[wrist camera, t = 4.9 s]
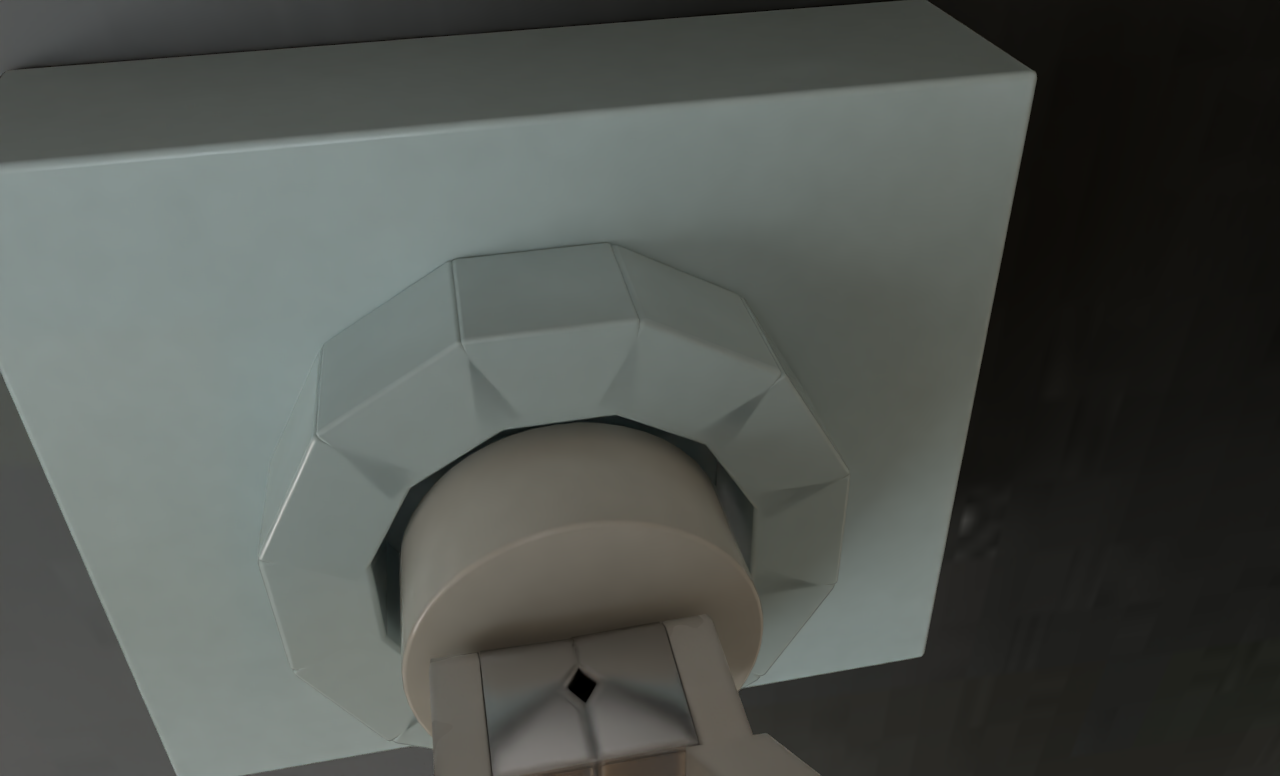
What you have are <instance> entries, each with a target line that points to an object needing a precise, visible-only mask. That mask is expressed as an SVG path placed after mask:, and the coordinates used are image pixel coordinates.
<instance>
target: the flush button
mask: <svg viewBox="0 0 1280 776" xmlns="http://www.w3.org/2000/svg"><path fill="white" fill-rule="evenodd" d="M399 585H400V630H401V673H402V681H403V689H404V692H405V695H406V698H407V701H408V704H409V706H410V708H411V710H412V712H413V713H414V715H415V717H416V719H417V720H418V722H419V723H420V724H421V725H422V727H423V728H424V729H425V730H426V731H427V733H428V734H429V735H430V736H432V721H431V703H430V684H429V667H430V660H431V659H432V658H439V657H446V656H453V655H460V654H466V653H473V652H479V656H480V651H483V650H490V649H498V648H505V647H512V646H519V645H526V644H533V643H541V642H548V641H555V640H562V639H569V638H571V637H573V636H579V635H585V634H590V633H596V632H602V631H607V630H613V629H618V628H624V627H630V626H635V625H641V624H647V623H652V622H658V621H659V622H660V623H662V621H667V620H673V619H679V618H685V617H691V616H697V615H702V614H707V615H708V616H709V617H710V618H711V619H712V620H713V623H714V626H715V629H716V632H717V634H718V637H719V640H720V643H721V646H722V649H723V651H724V654H725V657H726V660H727V663H728V666H729V668H730V671H731V674H732V677H733V680H734V683H735V685H736V688H737V691H738V692H739V690H740V689H741V687H742V686H743V684H744V683H745V681H746V680H747V678H748V676H749V675H750V673H751V671H752V669H753V667H754V665H755V662H756V659H757V656H758V653H759V650H760V647H761V641H762V635H763V610H762V606H761V601H760V597H759V594H758V592H757V589H756V587H755V584H754V582H753V579H752V577H751V574H750V572H749V569H748V567H747V564H746V562H745V559H744V557H743V554H742V551H741V549H740V546H739V544H738V541H737V539H736V536H735V534H734V531H733V529H732V526H731V524H730V521H729V519H728V516H727V514H726V511H725V509H724V506H723V504H722V501H721V499H720V496H719V494H718V492H717V489H716V487H715V485H714V484H713V482H712V481H711V479H710V478H709V476H708V475H707V473H706V472H705V471H704V470H703V469H702V468H701V467H700V465H699V464H698V463H697V462H696V461H695V460H694V459H693V458H691V457H690V456H689V455H687V454H686V453H685V452H684V451H682V450H681V449H680V448H678V447H676V446H675V445H673V444H671V443H669V442H668V441H666V440H664V439H662V438H660V437H657V436H655V435H652V434H650V433H647V432H645V431H642V430H638V429H634V428H630V427H626V426H622V425H615V424H608V423H596V422H574V423H561V424H553V425H548V426H542V427H537V428H532V429H529V430H525V431H522V432H519V433H515V434H512V435H509V436H507V437H504V438H502V439H500V440H497V441H495V442H492V443H490V444H488V445H486V446H484V447H483V448H481V449H479V450H477V451H475V452H474V453H472V454H470V455H468V456H467V457H466V458H464V459H463V460H461V461H460V462H459V463H457V464H456V465H454V466H453V467H452V468H450V469H449V470H448V471H447V472H446V473H445V474H444V475H443V476H442V477H441V478H439V479H438V480H437V481H436V482H435V483H434V485H433V486H432V487H431V488H430V489H429V491H428V492H427V493H426V494H425V495H424V496H423V498H422V499H421V501H420V503H419V504H418V506H417V507H416V509H415V510H414V512H413V514H412V515H411V518H410V520H409V522H408V525H407V527H406V529H405V531H404V535H403V539H402V543H401V547H400V558H399ZM480 663H481V661H480Z"/></svg>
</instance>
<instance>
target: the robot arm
mask: <svg viewBox="0 0 1280 776" xmlns="http://www.w3.org/2000/svg"><path fill="white" fill-rule="evenodd" d="M480 661H481V663H480ZM429 684H430V703H431V721H432V739H433V758H434V776H821V775H820V774H819V773H817V772H816V771H815V770H814V769H812V768H811V767H810V766H808V765H807V764H806V763H804V762H803V761H802V760H801V759H799V758H798V757H797V756H795V755H794V754H793V753H792V752H790V751H789V750H788V749H786V748H785V747H784V746H783V745H781V744H780V743H779V742H777V741H776V740H775V739H774V738H772V737H771V736H770V735H768V734H767V733H763V734H757V735H753V734H752V731H751V728H750V725H749V722H748V719H747V717H746V714H745V711H744V708H743V705H742V702H741V700H740V697H739V694H738V691H737V688H736V685H735V683H734V680H733V677H732V674H731V671H730V668H729V666H728V663H727V660H726V657H725V654H724V651H723V649H722V646H721V643H720V640H719V637H718V634H717V632H716V629H715V626H714V623H713V620H712V619H711V618H710V617H709V616H708V615H707V614H702V615H697V616H691V617H685V618H679V619H673V620H667V621H662V623H660V622H659V621H658V622H652V623H647V624H641V625H635V626H630V627H624V628H618V629H613V630H607V631H602V632H596V633H590V634H585V635H579V636H573V637H571V638H569V639H562V640H555V641H548V642H541V643H533V644H526V645H519V646H512V647H505V648H498V649H490V650H483V651H480V656H479V652H473V653H466V654H460V655H453V656H446V657H439V658H432V659H431V660H430V667H429Z"/></svg>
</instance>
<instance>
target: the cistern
mask: <svg viewBox="0 0 1280 776" xmlns="http://www.w3.org/2000/svg"><path fill="white" fill-rule="evenodd" d="M1036 82H1037V75H1036V72H1035V71H1034V70H1033V69H1031V68H1030V67H1028V66H1027V65H1025V64H1024V63H1022V62H1020V61H1019V60H1017V59H1016V58H1014V57H1013V56H1011V55H1010V54H1008V53H1007V52H1005V51H1004V50H1002V49H1001V48H999V47H998V46H996V45H995V44H993V43H992V42H990V41H989V40H987V39H986V38H984V37H983V36H981V35H980V34H978V33H977V32H975V31H974V30H972V29H971V28H969V27H967V26H966V25H964V24H963V23H961V22H960V21H958V20H957V19H955V18H954V17H952V16H951V15H949V14H948V13H946V12H945V11H943V10H942V9H940V8H939V7H937V6H936V5H934V4H933V3H931V2H930V1H928V0H903V1H890V2H878V3H865V4H852V5H839V6H826V7H814V8H801V9H788V10H775V11H762V12H750V13H737V14H724V15H711V16H698V17H685V18H673V19H660V20H647V21H634V22H621V23H609V24H596V25H583V26H570V27H557V28H545V29H532V30H519V31H506V32H493V33H481V34H468V35H455V36H442V37H429V38H417V39H404V40H391V41H378V42H365V43H353V44H340V45H327V46H314V47H301V48H289V49H276V50H263V51H250V52H237V53H225V54H212V55H199V56H186V57H173V58H161V59H148V60H135V61H122V62H109V63H97V64H84V65H71V66H58V67H45V68H32V69H20V70H8V71H6V72H4V73H2V75H1V76H0V371H1V374H2V376H3V378H4V381H5V383H6V385H7V387H8V390H9V392H10V394H11V397H12V399H13V401H14V403H15V406H16V408H17V410H18V413H19V415H20V417H21V420H22V422H23V424H24V426H25V429H26V431H27V433H28V436H29V438H30V440H31V443H32V445H33V447H34V449H35V452H36V454H37V456H38V459H39V461H40V463H41V465H42V468H43V470H44V472H45V475H46V477H47V479H48V482H49V484H50V486H51V488H52V491H53V493H54V495H55V498H56V500H57V502H58V505H59V507H60V509H61V511H62V514H63V516H64V518H65V521H66V523H67V525H68V527H69V530H70V532H71V534H72V537H73V539H74V541H75V544H76V546H77V548H78V550H79V553H80V555H81V557H82V560H83V562H84V564H85V567H86V569H87V571H88V573H89V576H90V578H91V580H92V583H93V585H94V587H95V589H96V592H97V594H98V596H99V599H100V601H101V603H102V606H103V608H104V610H105V612H106V615H107V617H108V619H109V622H110V624H111V626H112V629H113V631H114V633H115V635H116V638H117V640H118V642H119V645H120V647H121V649H122V651H123V654H124V656H125V658H126V661H127V663H128V665H129V668H130V670H131V672H132V674H133V677H134V679H135V681H136V684H137V686H138V688H139V691H140V693H141V695H142V697H143V700H144V702H145V704H146V707H147V709H148V711H149V713H150V716H151V718H152V720H153V723H154V725H155V727H156V730H157V732H158V734H159V736H160V739H161V741H162V743H163V746H164V748H165V750H166V753H167V755H168V757H169V759H170V762H171V764H172V766H173V769H174V771H175V773H176V775H177V776H245V775H251V774H257V773H262V772H268V771H274V770H280V769H285V768H291V767H297V766H302V765H308V764H314V763H320V762H325V761H331V760H337V759H342V758H348V757H354V756H359V755H365V754H371V753H377V752H382V751H388V750H394V749H399V748H405V747H411V746H416V747H422V748H428V749H433V739H432V736H430V735H429V734H428V733H427V731H426V730H425V729H424V728H423V727H422V725H421V724H420V723H419V722H418V720H417V719H416V717H415V715H414V713H413V712H412V710H411V708H410V706H409V704H408V701H407V698H406V695H405V692H404V689H403V681H402V673H401V630H400V585H399V558H400V547H401V543H402V539H403V535H404V531H405V529H406V527H407V525H408V522H409V520H410V518H411V515H412V514H413V512H414V510H415V509H416V507H417V506H418V504H419V503H420V501H421V499H422V498H423V496H424V495H425V494H426V493H427V492H428V491H429V489H430V488H431V487H432V486H433V485H434V483H435V482H436V481H437V480H438V479H439V478H441V477H442V476H443V475H444V474H445V473H446V472H447V471H448V470H449V469H450V468H452V467H453V466H454V465H456V464H457V463H459V462H460V461H461V460H463V459H464V458H466V457H467V456H468V455H470V454H472V453H474V452H475V451H477V450H479V449H481V448H483V447H484V446H486V445H488V444H490V443H492V442H495V441H497V440H500V439H502V438H504V437H507V436H509V435H512V434H515V433H519V432H522V431H525V430H529V429H532V428H537V427H542V426H548V425H553V424H561V423H574V422H596V423H608V424H615V425H622V426H626V427H630V428H634V429H638V430H642V431H645V432H647V433H650V434H652V435H655V436H657V437H660V438H662V439H664V440H666V441H668V442H669V443H671V444H673V445H675V446H676V447H678V448H680V449H681V450H682V451H684V452H685V453H686V454H687V455H689V456H690V457H691V458H693V459H694V460H695V461H696V462H697V463H698V464H699V465H700V467H701V468H702V469H703V470H704V471H705V472H706V473H707V475H708V476H709V478H710V479H711V481H712V482H713V484H714V485H715V487H716V489H717V492H718V494H719V496H720V499H721V501H722V504H723V506H724V509H725V511H726V514H727V516H728V519H729V521H730V524H731V526H732V529H733V531H734V534H735V536H736V539H737V541H738V544H739V546H740V549H741V551H742V554H743V557H744V559H745V562H746V564H747V567H748V569H749V572H750V574H751V577H752V579H753V582H754V584H755V587H756V589H757V592H758V594H759V597H760V601H761V606H762V610H763V635H762V641H761V647H760V650H759V653H758V656H757V659H756V662H755V665H754V667H753V669H752V671H751V673H750V675H749V676H748V678H747V680H746V681H745V683H744V684H743V686H742V687H741V689H742V688H748V687H753V686H759V685H765V684H770V683H776V682H782V681H788V680H793V679H799V678H805V677H810V676H816V675H822V674H828V673H833V672H839V671H845V670H850V669H856V668H862V667H868V666H873V665H879V664H885V663H890V662H896V661H902V660H907V659H913V658H919V657H921V656H923V655H924V652H925V647H926V642H927V636H928V631H929V626H930V621H931V616H932V611H933V606H934V601H935V596H936V591H937V586H938V581H939V575H940V570H941V565H942V560H943V555H944V550H945V545H946V540H947V535H948V530H949V525H950V519H951V514H952V509H953V504H954V499H955V494H956V489H957V484H958V479H959V474H960V469H961V464H962V458H963V453H964V448H965V443H966V438H967V433H968V428H969V423H970V418H971V413H972V408H973V402H974V397H975V392H976V387H977V382H978V377H979V372H980V367H981V362H982V357H983V352H984V347H985V341H986V336H987V331H988V326H989V321H990V316H991V311H992V306H993V301H994V296H995V291H996V285H997V280H998V275H999V270H1000V265H1001V260H1002V255H1003V250H1004V245H1005V240H1006V235H1007V230H1008V224H1009V219H1010V214H1011V209H1012V204H1013V199H1014V194H1015V189H1016V184H1017V179H1018V174H1019V168H1020V163H1021V158H1022V153H1023V148H1024V143H1025V138H1026V133H1027V128H1028V123H1029V118H1030V113H1031V107H1032V102H1033V97H1034V92H1035V87H1036ZM741 689H740V690H741Z"/></svg>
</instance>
